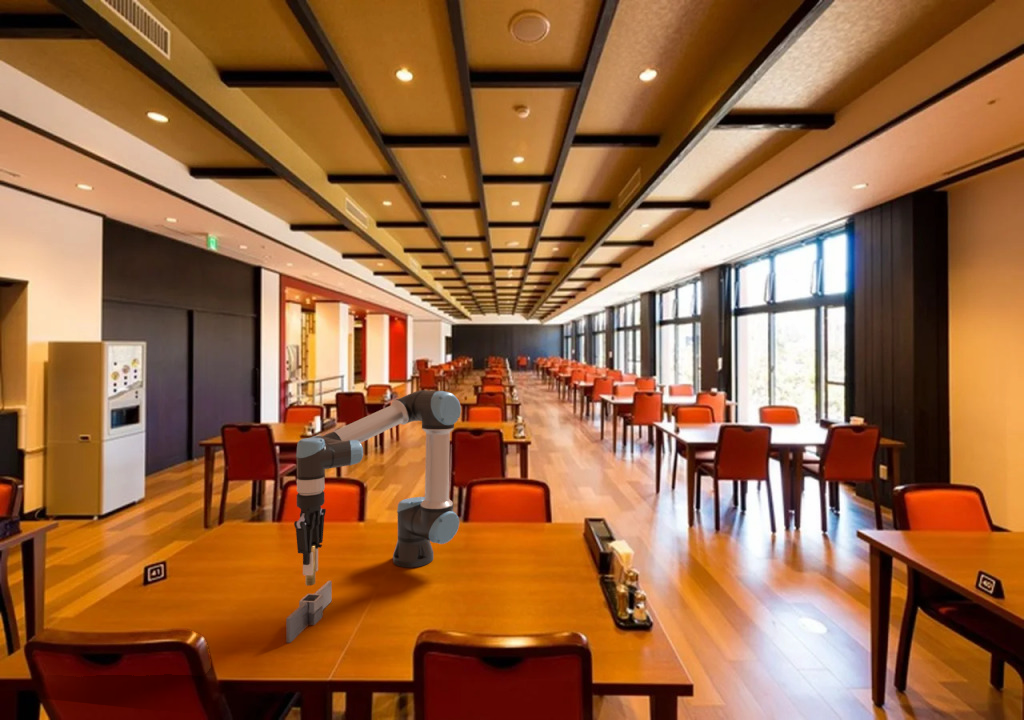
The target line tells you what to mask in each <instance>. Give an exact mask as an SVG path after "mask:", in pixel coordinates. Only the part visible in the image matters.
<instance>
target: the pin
mask: <svg viewBox="0 0 1024 720" xmlns="http://www.w3.org/2000/svg"><path fill="white" fill-rule="evenodd" d="M311 552H313V575H312V576H311V575H305V585H306V586H314V585H315V584H316V572H315V544H312V548H311Z"/></svg>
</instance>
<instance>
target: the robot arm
mask: <svg viewBox="0 0 1024 720" xmlns="http://www.w3.org/2000/svg"><path fill="white" fill-rule="evenodd" d="M461 413H462V407H461V403H460V400H459V399H458V397H456V395H454V393H452V392H448V391H444V390H427V389H425V390H424V389H421V390H417V391H414V392H411V393H408V394H406V395H404V396H402V397H399V398H397V399H395V400H393V401H392V402H391V404H390V405H389V406H386V407H384V408H382V409H380V410H377V411H376V412H373V413H370V414H369V415H367V416H365V417H362V418H360V419H358V420H356V421H353V422H352V423H351V422H350V423H349V424H346V425H345V426H342V427H341V428H338V429H335V430H333V431H331V432H329V433H326V434H324V435H314V436H311V437H308V438H307V437H305V438H301V439H300V440H298V441H297V444H296V445H297V446H296V454H295V457H296V492H297V494H296V507H297V508H299V510H300V512H299V519H298V520H295V521H294V523H293V525H294V528H295V535H296V545H297V546H296V547H297V548H296V549H297V554H302V576H306V575H311V576H312V575H313V552H311V548H312V544H315V573H316V572H318V571H319V549H320V548H322V547H323V544H322V543H323V541H324V528H325V527H324V526H325V517H326V512H327V510H326V508H322V507H323V505H324V504H325V491H324V490H325V488H326V486H325V471H326V470H329V469H335V468H340V467H348V466H353V465H358V464H359V463H360V462H361V461H362V460H363V456H364V448H363V445H362V443H363V442H365V441H367V440H369V439H371V438H374V437H376V436H378V435H379V434H382V433H384V432H386V431H388V430H390V429H392V428H395V427H396V426H398V425H403V426H405V425H407V424H409V423H412V422H421V429H422V430H423V432H424V433H425V470H424V471H425V472H424V473H425V474H424V475H425V476H424V477H425V478H424V479H425V480H424V481H425V482H424V483H425V484H424V496H417V497H409V498H405V499H402V500H400V501H399V502H398V504H397V511H396V513H397V541H396V545H395V548H394V551H393V554H392V562H393V564H394V565H396V566H398V567H401V568H409V569H410V568H419V567H423V566H425V565H428V564H430V563H431V562H432V561H433V560H434V549H433V547H432V543H433V544H434V543H435V544H439V545H444V544H447V543H448V542H450V541H451V540H453V538H454V536H456V534H457V532H458V530H459V527H460V518H459V516H458V515H457V513H456V512H455V511H454V510H453V509H454V502H453V501H452V500H451V499H450V444H451V443H450V441H451V440H450V439H451V438H450V437H451V435H450V433H451V432H452V431H453V430H454V429H455V424H456V423H457V421H458V420H459V419H460V417H461ZM321 506H322V507H321Z"/></svg>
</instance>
